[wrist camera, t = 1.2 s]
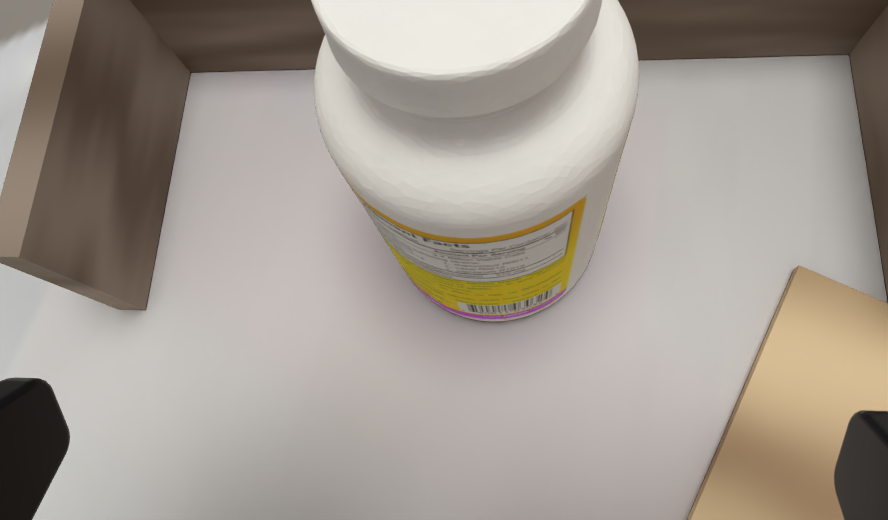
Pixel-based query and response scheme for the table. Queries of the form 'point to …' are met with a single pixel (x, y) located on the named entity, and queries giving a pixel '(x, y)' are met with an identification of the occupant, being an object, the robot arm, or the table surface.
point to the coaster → (799, 405)
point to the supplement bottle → (480, 137)
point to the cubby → (297, 47)
